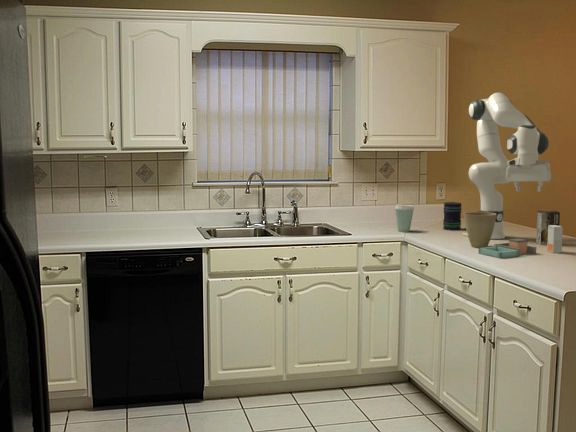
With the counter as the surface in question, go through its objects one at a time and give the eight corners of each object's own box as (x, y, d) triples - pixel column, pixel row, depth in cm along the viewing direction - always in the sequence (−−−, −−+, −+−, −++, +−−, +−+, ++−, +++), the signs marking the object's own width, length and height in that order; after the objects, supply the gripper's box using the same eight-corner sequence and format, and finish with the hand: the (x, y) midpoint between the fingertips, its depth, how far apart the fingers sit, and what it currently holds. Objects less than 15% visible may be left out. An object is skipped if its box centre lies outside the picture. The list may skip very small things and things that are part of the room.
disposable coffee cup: (404, 229, 378) (405, 203, 376) (418, 231, 369) (418, 204, 367) (390, 230, 372) (390, 204, 370) (403, 233, 363) (404, 205, 361)
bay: (494, 250, 308) (494, 244, 308) (511, 248, 313) (511, 242, 313) (518, 255, 295) (518, 248, 295) (536, 253, 300) (536, 247, 300)
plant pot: (486, 243, 328) (488, 211, 326) (500, 248, 313) (502, 215, 311) (457, 244, 326) (458, 212, 324) (470, 249, 311) (471, 215, 309)
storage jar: (443, 230, 375) (444, 203, 373) (442, 227, 384) (443, 202, 382) (461, 230, 373) (462, 204, 371) (460, 228, 382) (461, 202, 381)
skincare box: (546, 250, 308) (547, 225, 306) (555, 250, 308) (556, 225, 307) (552, 253, 302) (554, 226, 300) (561, 253, 302) (563, 226, 301)
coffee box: (554, 242, 331) (555, 210, 329) (559, 244, 325) (560, 211, 323) (535, 242, 331) (537, 210, 329) (540, 244, 325) (541, 211, 323)
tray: (478, 253, 300) (478, 248, 300) (496, 251, 305) (496, 246, 305) (499, 258, 289) (500, 252, 288) (518, 256, 294) (518, 250, 294)
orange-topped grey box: (508, 252, 303) (509, 239, 303) (518, 251, 306) (519, 238, 305) (517, 254, 299) (517, 240, 298) (527, 253, 302) (527, 239, 301)
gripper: (553, 160, 295) (553, 191, 296) (511, 161, 310) (511, 191, 311) (546, 160, 291) (547, 192, 292) (504, 162, 306) (504, 192, 307)
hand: (528, 191), depth 302 cm, fingers open, 8 cm apart
